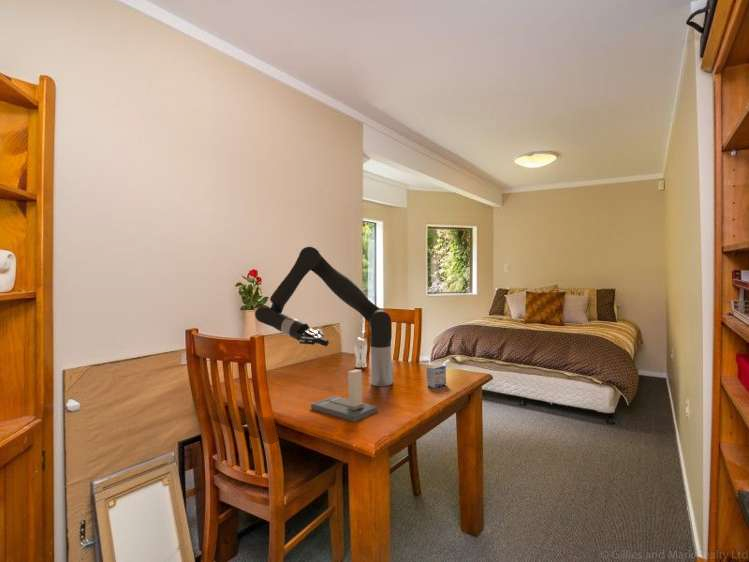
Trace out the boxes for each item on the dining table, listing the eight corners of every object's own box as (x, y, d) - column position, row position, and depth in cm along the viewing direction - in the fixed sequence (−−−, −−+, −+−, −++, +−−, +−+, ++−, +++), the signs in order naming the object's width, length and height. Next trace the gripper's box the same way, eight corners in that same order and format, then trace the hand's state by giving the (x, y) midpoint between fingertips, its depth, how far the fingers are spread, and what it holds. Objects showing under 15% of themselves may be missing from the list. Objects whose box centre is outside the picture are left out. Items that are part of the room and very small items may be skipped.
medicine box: (434, 388, 167) (434, 368, 166) (426, 386, 170) (426, 367, 170) (446, 385, 172) (446, 365, 171) (438, 383, 175) (438, 364, 175)
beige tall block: (356, 404, 142) (355, 368, 142) (364, 406, 140) (363, 370, 140) (346, 408, 138) (345, 371, 138) (355, 410, 136) (354, 373, 136)
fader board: (334, 400, 155) (334, 395, 155) (377, 411, 141) (377, 406, 141) (311, 409, 145) (311, 403, 145) (355, 422, 131) (354, 415, 131)
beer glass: (356, 368, 206) (355, 340, 206) (353, 365, 213) (352, 338, 213) (369, 367, 208) (368, 339, 208) (365, 364, 215) (365, 337, 215)
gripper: (284, 324, 155) (317, 340, 147) (306, 316, 166) (338, 330, 158) (282, 341, 157) (315, 357, 149) (304, 331, 168) (336, 346, 160)
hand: (327, 343), depth 154 cm, fingers closed
